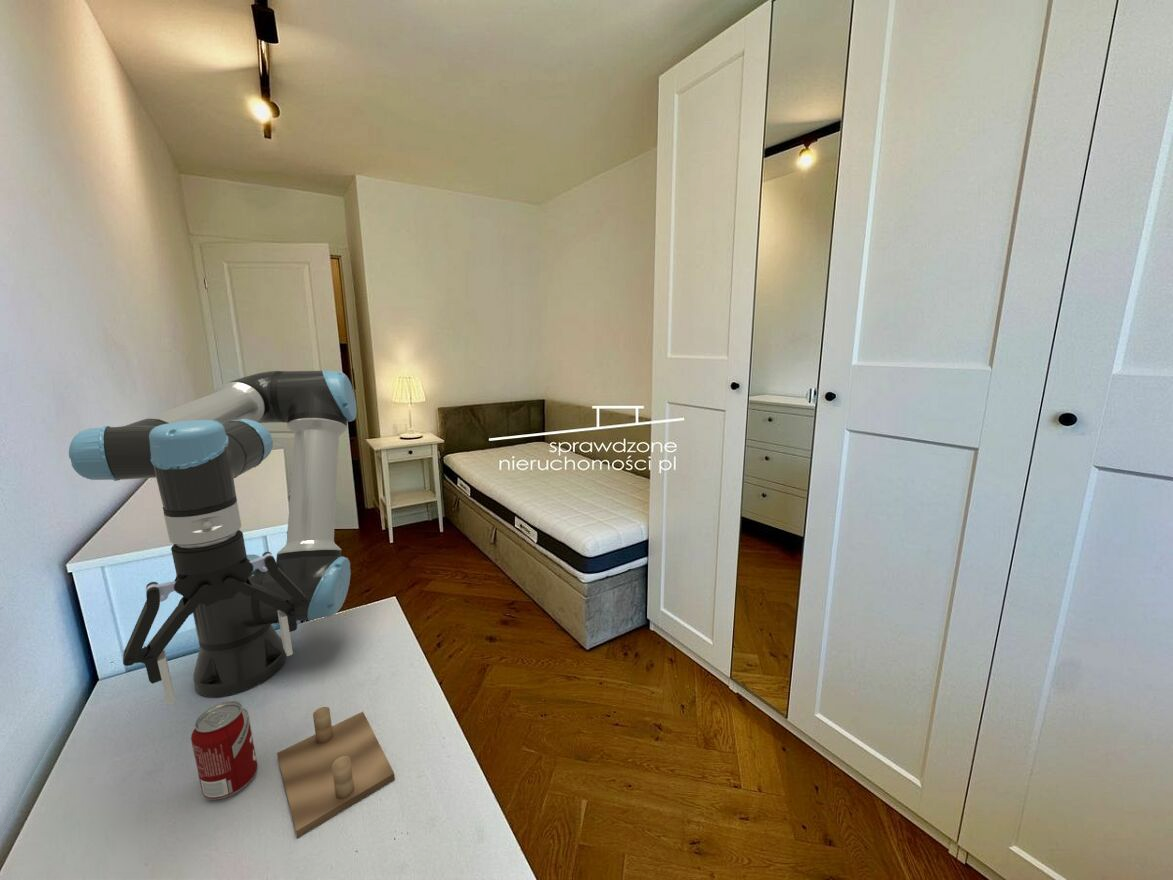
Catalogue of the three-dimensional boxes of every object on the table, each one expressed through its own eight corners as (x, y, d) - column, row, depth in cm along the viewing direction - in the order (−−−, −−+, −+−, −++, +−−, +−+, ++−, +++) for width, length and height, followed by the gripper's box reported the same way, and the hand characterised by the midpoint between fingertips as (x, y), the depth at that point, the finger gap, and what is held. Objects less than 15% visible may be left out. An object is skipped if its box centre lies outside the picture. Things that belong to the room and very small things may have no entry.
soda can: (228, 808, 66) (215, 738, 64) (190, 798, 68) (176, 729, 65) (269, 766, 73) (258, 701, 70) (233, 758, 74) (221, 694, 72)
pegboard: (277, 759, 74) (272, 726, 73) (363, 717, 82) (360, 687, 81) (297, 838, 62) (291, 801, 61) (394, 779, 71) (391, 746, 69)
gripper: (66, 580, 50) (109, 739, 55) (319, 519, 67) (335, 646, 72) (72, 556, 56) (111, 703, 61) (305, 506, 73) (321, 624, 77)
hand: (233, 672), depth 66 cm, fingers open, 13 cm apart
